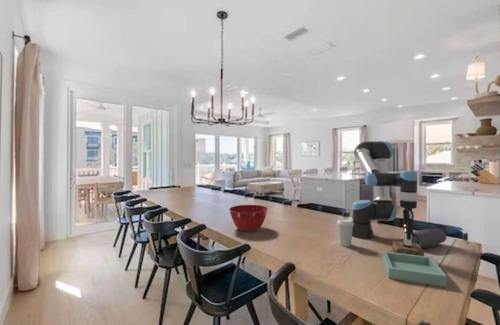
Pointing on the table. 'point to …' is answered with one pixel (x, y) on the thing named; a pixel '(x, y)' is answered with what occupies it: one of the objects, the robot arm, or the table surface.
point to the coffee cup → (345, 231)
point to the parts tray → (414, 269)
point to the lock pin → (404, 237)
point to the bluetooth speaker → (428, 237)
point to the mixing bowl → (248, 216)
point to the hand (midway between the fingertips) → (407, 244)
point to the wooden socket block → (407, 249)
